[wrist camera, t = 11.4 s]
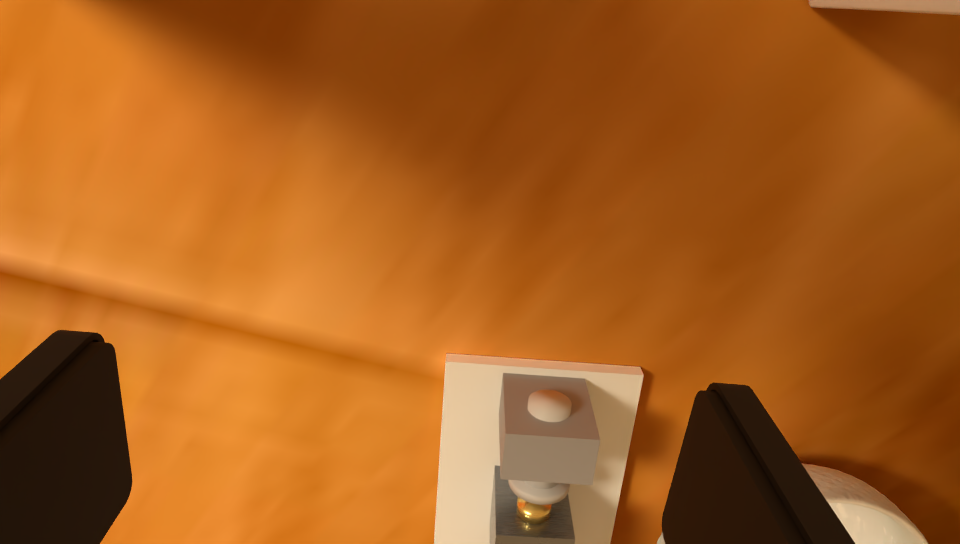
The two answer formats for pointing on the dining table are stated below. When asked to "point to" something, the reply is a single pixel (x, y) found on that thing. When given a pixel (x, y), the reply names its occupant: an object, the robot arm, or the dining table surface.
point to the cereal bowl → (861, 509)
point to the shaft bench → (485, 448)
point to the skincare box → (893, 5)
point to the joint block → (527, 518)
